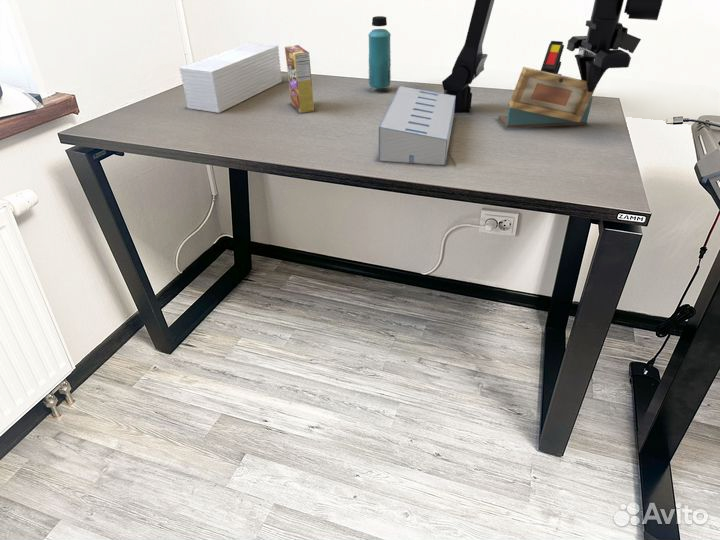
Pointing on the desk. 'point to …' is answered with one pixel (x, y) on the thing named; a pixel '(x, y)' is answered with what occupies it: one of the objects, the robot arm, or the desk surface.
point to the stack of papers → (231, 76)
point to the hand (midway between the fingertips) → (588, 90)
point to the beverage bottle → (379, 54)
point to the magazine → (553, 57)
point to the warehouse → (417, 127)
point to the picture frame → (551, 95)
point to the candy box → (299, 78)
